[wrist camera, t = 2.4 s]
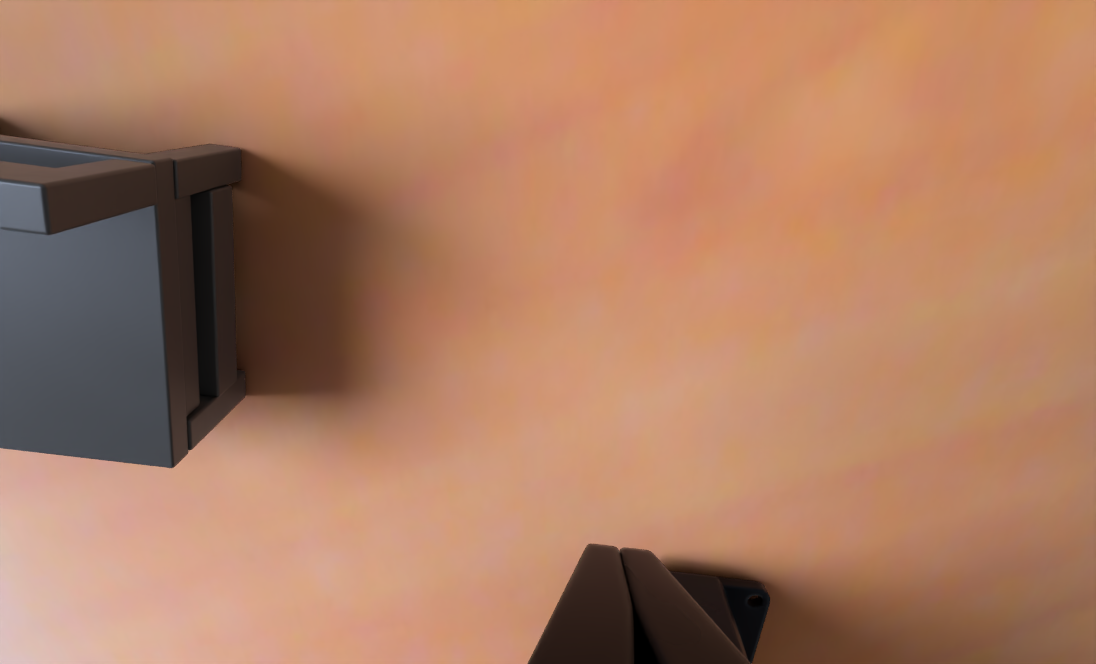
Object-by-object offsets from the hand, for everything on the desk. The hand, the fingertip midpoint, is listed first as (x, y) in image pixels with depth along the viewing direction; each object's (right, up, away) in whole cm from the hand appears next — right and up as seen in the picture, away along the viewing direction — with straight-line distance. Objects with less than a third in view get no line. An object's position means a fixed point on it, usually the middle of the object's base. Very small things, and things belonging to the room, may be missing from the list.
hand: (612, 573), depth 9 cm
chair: (-13, +5, +11) cm, 18 cm away
